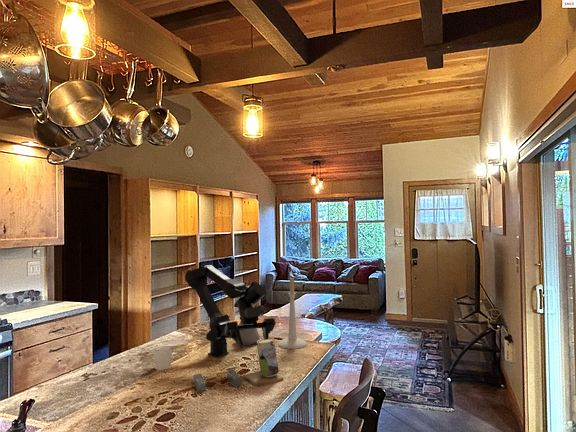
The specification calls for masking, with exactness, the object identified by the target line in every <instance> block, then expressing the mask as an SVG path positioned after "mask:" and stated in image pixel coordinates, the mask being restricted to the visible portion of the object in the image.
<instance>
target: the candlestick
mask: <svg viewBox="0 0 576 432" xmlns="http://www.w3.org/2000/svg"><path fill="white" fill-rule="evenodd" d="M287 294H288V297H289V299H290V300H289V312H288V313H289V319H288V336H287V337H286V338H283V339H280V341H278V344H277V345H278V347H280V348H283V349H287V350H288V349H289V350H294V349H295V350H296V349H303V348H306V347H307V345H308V343H307V341H306V340H304V339H302V338H298V336H297V326H296V325H297V323H296V322H297V321H296V310H295V309H296V307H295V297H296V292H295V278H294V277H289V292H288V293H287Z"/></svg>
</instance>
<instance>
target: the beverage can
mask: <svg viewBox="0 0 576 432" xmlns="http://www.w3.org/2000/svg"><path fill="white" fill-rule="evenodd" d="M257 342H258V344H257V346H256V347H257V355H258V360H259V361H258V362H259V368H260V371H261V375H262V376H264V377H272V376H275V375H277V374H279V372H280V371H279V365H278V357H277V351H276V345H275V342H274V340H273V339H271V338H268V339H267V340H264V339H263V340H261V341H259V340H258V341H257Z"/></svg>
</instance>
